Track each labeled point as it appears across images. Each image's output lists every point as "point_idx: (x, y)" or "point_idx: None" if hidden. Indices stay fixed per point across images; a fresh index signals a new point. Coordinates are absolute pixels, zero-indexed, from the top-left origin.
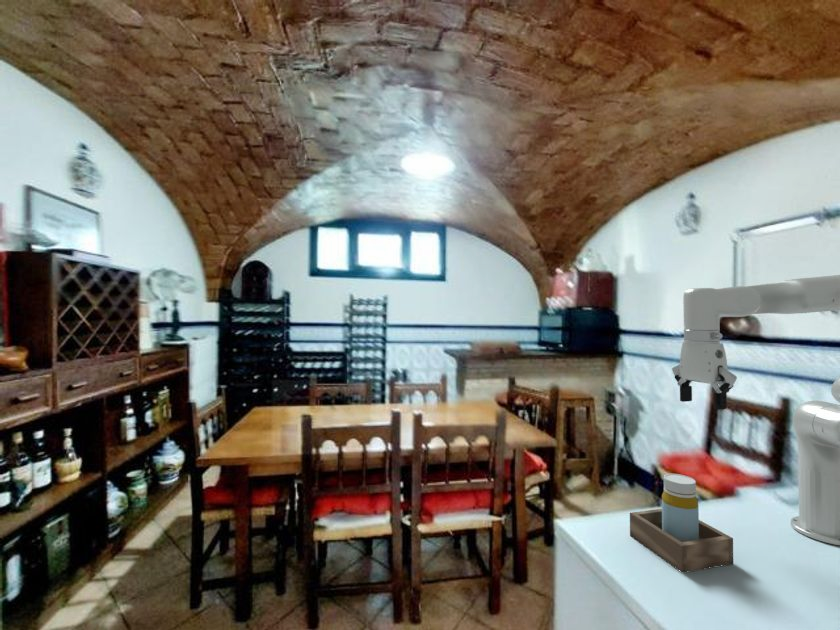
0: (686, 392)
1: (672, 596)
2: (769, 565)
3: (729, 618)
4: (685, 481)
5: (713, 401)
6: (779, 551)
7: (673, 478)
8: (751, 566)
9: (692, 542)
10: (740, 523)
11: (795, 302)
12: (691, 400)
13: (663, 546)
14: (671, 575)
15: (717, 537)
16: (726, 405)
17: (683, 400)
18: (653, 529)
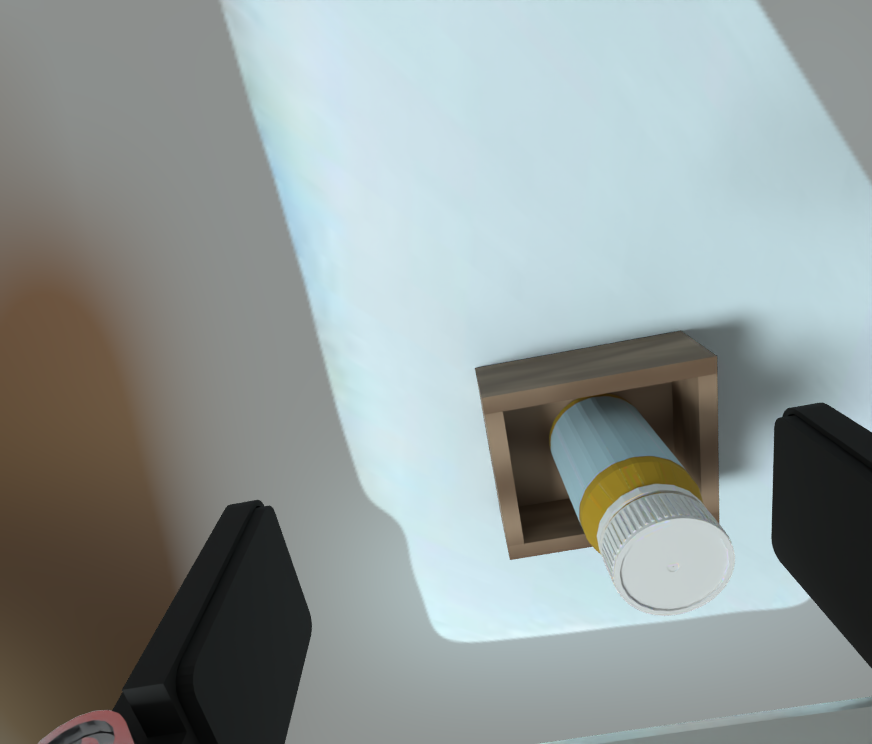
0: (264, 677)
1: (755, 549)
2: (707, 226)
3: None
4: (700, 558)
5: (833, 622)
6: (647, 116)
7: (658, 582)
8: (699, 286)
9: (709, 488)
10: (448, 90)
11: None
12: (272, 510)
13: None
14: None
15: (701, 400)
16: (847, 419)
17: (306, 621)
18: None
